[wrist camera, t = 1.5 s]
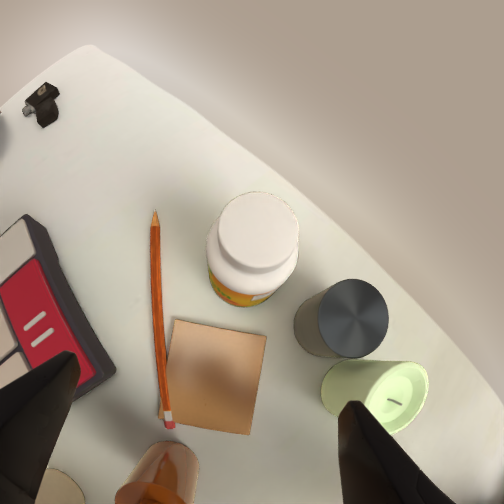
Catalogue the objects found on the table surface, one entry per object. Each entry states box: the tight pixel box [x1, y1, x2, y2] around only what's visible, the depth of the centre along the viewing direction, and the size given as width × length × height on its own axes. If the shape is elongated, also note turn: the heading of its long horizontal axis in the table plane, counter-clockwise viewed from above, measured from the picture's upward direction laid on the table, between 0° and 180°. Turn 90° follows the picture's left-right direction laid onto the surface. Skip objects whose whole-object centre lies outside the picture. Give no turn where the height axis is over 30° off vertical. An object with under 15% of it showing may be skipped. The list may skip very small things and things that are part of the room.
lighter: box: [22, 82, 60, 128], centre depth 26 cm, size 8×2×5 cm
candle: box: [321, 359, 429, 435], centre depth 17 cm, size 5×5×8 cm
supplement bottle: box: [206, 192, 299, 307], centre depth 19 cm, size 5×5×10 cm
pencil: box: [150, 209, 175, 429], centre depth 22 cm, size 1×18×1 cm, turn 7°
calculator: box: [0, 214, 116, 402], centre depth 18 cm, size 11×4×15 cm
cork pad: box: [158, 319, 266, 435], centre depth 20 cm, size 8×7×1 cm
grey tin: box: [294, 279, 389, 358], centre depth 20 cm, size 5×5×6 cm
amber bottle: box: [115, 441, 199, 504], centre depth 13 cm, size 4×4×11 cm
